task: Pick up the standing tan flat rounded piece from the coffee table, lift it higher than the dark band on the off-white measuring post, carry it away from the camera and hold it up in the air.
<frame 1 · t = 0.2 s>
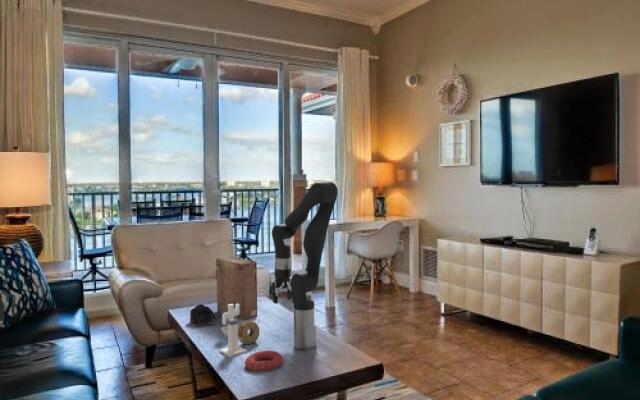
hand: (282, 301, 217), 18 cm above the table, tool pointing down, fingers open, 8 cm apart
brown wooden box: (236, 313, 258), on the table
black rough rounded lump: (202, 323, 243), on the table
figurine: (231, 335, 224), on the table
torus: (264, 365, 189), on the table
measuring post: (233, 352, 202), on the table
tan flat rounded piece: (249, 343, 213), on the table
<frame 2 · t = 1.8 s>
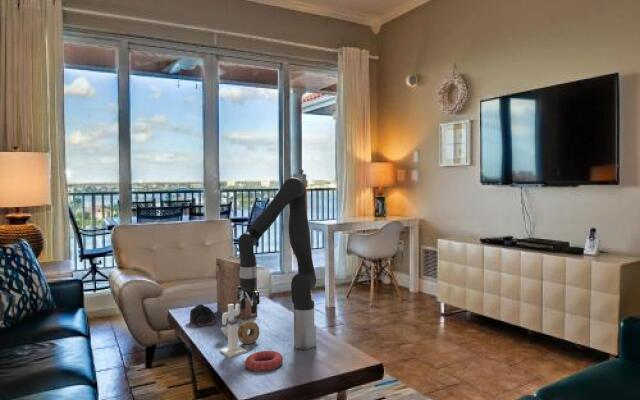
hand: (248, 311, 212), 15 cm above the table, tool pointing down, fingers open, 8 cm apart
nothing on the table moved.
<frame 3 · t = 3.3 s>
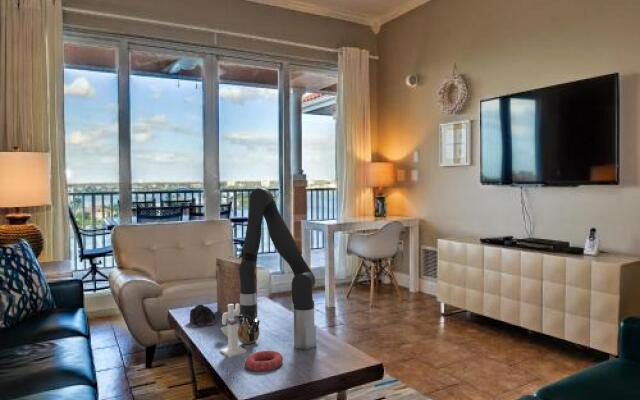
hand: (249, 339, 213), 2 cm above the table, tool pointing down, fingers closed on tan flat rounded piece, 3 cm apart
tan flat rounded piece: (249, 343, 213), on the table, touching gripper
everything else where it was.
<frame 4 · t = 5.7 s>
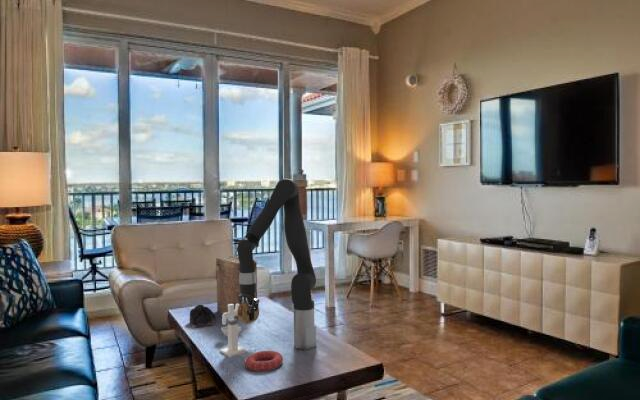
hand: (249, 319, 212), 11 cm above the table, tool pointing down, fingers closed on tan flat rounded piece, 3 cm apart
tan flat rounded piece: (249, 323, 212), point 9 cm above the table, touching gripper
everything else where it was.
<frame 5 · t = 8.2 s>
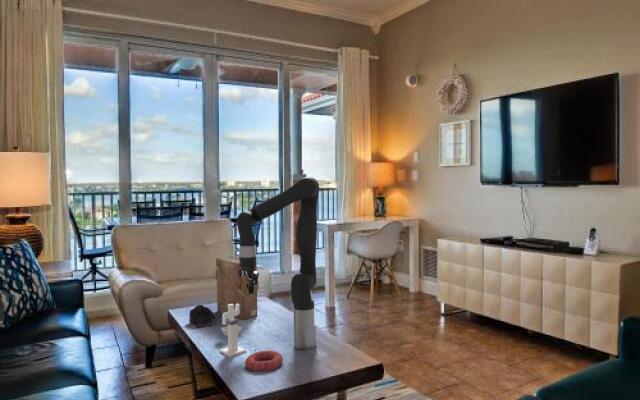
hand: (248, 292, 212), 23 cm above the table, tool pointing down, fingers closed on tan flat rounded piece, 3 cm apart
tan flat rounded piece: (248, 296, 212), point 21 cm above the table, touching gripper
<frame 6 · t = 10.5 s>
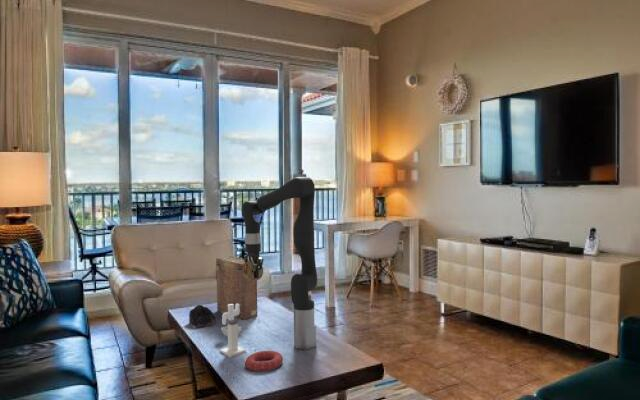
hand: (253, 277, 225), 27 cm above the table, tool pointing down, fingers closed on tan flat rounded piece, 3 cm apart
tan flat rounded piece: (253, 281, 225), point 25 cm above the table, touching gripper
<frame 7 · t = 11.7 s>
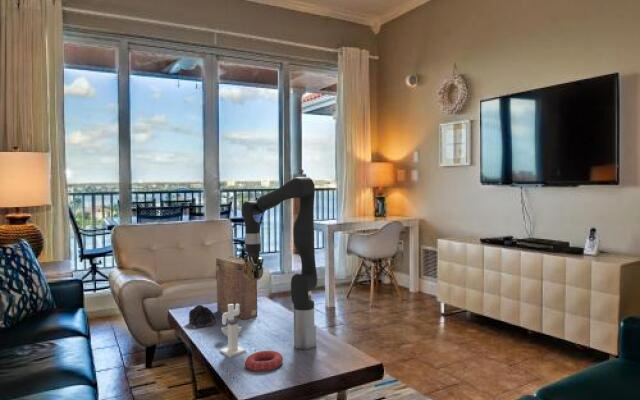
hand: (253, 277, 225), 27 cm above the table, tool pointing down, fingers closed on tan flat rounded piece, 3 cm apart
tan flat rounded piece: (253, 281, 225), point 25 cm above the table, touching gripper
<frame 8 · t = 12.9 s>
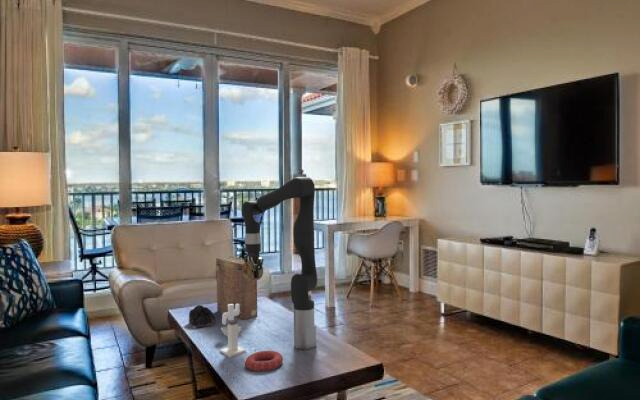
hand: (253, 277, 225), 27 cm above the table, tool pointing down, fingers closed on tan flat rounded piece, 3 cm apart
tan flat rounded piece: (253, 281, 225), point 25 cm above the table, touching gripper
at the end: the gripper is holding tan flat rounded piece; tan flat rounded piece point 25.1 cm above the table; tan flat rounded piece inside the target area (0.0 cm from its centre), point 25.1 cm above the table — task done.
